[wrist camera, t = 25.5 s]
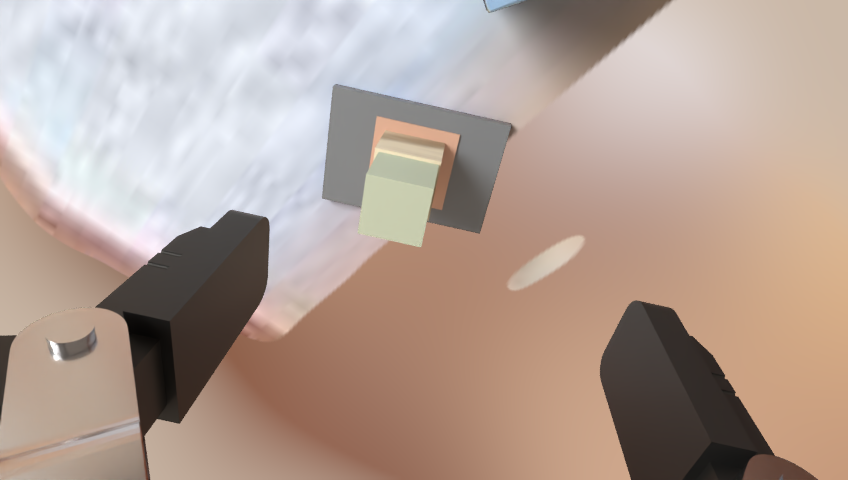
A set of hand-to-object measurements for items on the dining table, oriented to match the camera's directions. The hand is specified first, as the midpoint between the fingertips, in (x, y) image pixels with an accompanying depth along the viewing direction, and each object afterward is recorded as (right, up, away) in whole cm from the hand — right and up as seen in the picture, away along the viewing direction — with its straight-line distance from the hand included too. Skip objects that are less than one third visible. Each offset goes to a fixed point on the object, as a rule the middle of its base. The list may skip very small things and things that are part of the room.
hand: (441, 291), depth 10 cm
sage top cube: (-2, +6, +29) cm, 30 cm away
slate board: (-1, +9, +35) cm, 36 cm away
